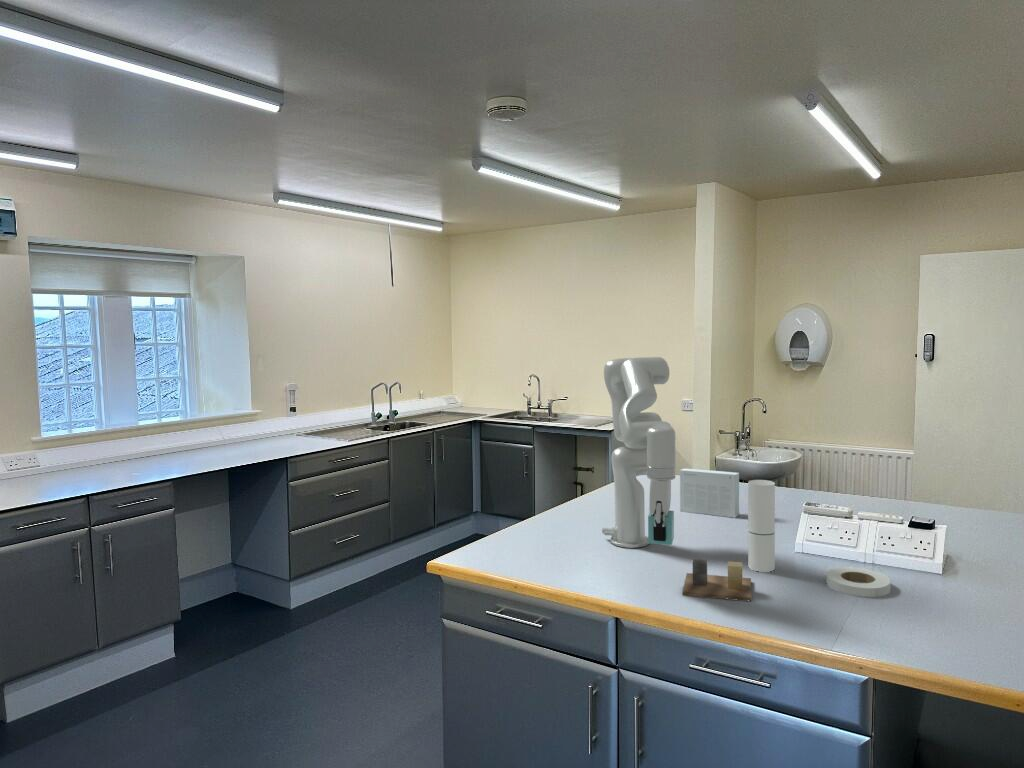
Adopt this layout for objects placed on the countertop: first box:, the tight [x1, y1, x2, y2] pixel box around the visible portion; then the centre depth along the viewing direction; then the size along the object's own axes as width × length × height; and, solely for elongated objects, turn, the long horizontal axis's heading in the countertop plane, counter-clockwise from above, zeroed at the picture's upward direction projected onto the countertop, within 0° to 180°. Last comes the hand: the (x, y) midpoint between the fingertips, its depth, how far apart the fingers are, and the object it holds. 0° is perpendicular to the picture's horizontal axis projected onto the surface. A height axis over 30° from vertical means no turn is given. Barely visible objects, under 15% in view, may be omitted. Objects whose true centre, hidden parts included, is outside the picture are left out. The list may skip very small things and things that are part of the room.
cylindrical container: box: [747, 479, 776, 573], centre depth 199 cm, size 7×7×25 cm
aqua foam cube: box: [647, 510, 675, 546], centre depth 190 cm, size 6×6×8 cm
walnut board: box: [682, 558, 752, 602], centre depth 186 cm, size 17×14×7 cm
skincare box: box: [679, 468, 740, 519], centre depth 259 cm, size 21×6×16 cm, turn 58°
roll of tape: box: [825, 566, 892, 598], centre depth 185 cm, size 16×15×3 cm
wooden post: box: [727, 561, 743, 589], centre depth 184 cm, size 4×4×6 cm
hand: (661, 535), depth 190 cm, fingers closed on aqua foam cube, 6 cm apart
